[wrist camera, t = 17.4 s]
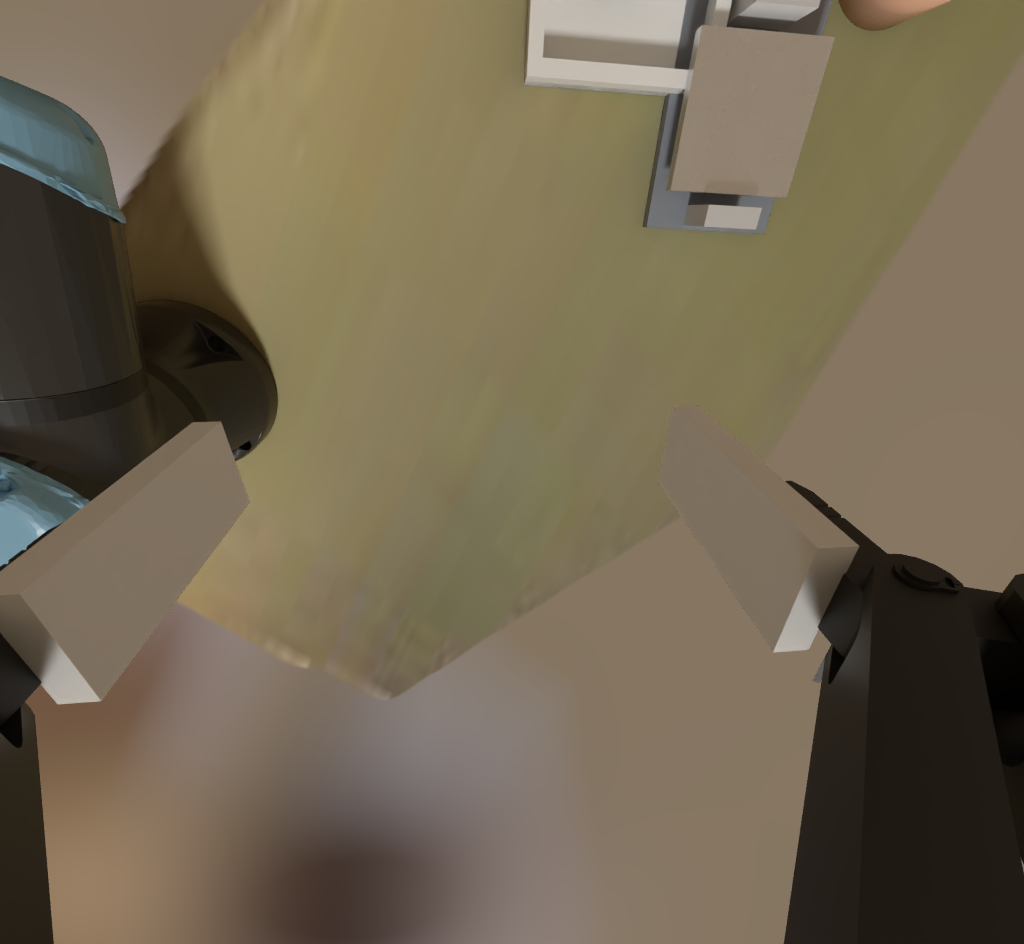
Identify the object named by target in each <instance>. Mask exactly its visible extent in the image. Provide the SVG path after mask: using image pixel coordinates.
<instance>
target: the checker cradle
mask: <svg viewBox="0 0 1024 944" xmlns="http://www.w3.org/2000/svg"><path fill="white" fill-rule="evenodd" d="M690 1H691V0H688V2H686V3H688V4H689V5H690V6H691V5H692V6H691V7H690V6H689V5H688V4H686V6H687V7H688V8H689V9H692V11H694V10H696V11H694V12H692V11H691V10H689V9H688V8H687V7H685V8H686V9H685V12H684V17H683V23H685V24H683V23H682V24H683V25H684V26H685V25H686V24H687V26H685V27H686V28H685V27H684V26H683V25H682V29H681V34H680V37H682V38H681V39H680V40H679V43H680V41H681V40H682V39H683V40H684V41H686V42H685V43H684V41H681V44H679V46H681V48H680V47H679V46H678V49H679V50H678V52H677V57H676V59H678V58H679V60H676V62H677V63H680V64H678V65H679V66H678V65H677V63H676V64H675V68H674V69H676V65H677V68H678V67H680V68H681V69H682V68H684V69H685V70H686V69H687V68H688V66H689V63H690V60H689V59H690V58H691V54H692V53H691V51H692V48H693V44H692V43H694V40H692V39H693V38H695V35H694V34H695V33H694V34H693V32H692V33H691V32H690V31H695V32H696V30H697V29H698V28H699V27H700V26H701V25H704V23H702V21H703V22H704V21H705V20H704V19H701V18H702V16H703V17H704V18H705V16H704V15H705V13H706V11H707V10H706V11H705V9H706V7H707V5H708V0H706V1H705V0H701V1H700V0H699V1H698V0H697V1H696V0H695V1H694V0H692V1H693V2H692V1H691V3H689V2H690ZM702 1H703V2H702ZM696 2H698V3H696ZM701 2H702V3H701ZM705 2H706V4H705ZM693 3H695V4H696V5H695V4H693ZM699 3H701V4H699ZM831 3H832V0H732V3H731V8H730V12H729V17H728V22H727V27H732V28H743V29H754V30H764V31H775V32H786V33H797V34H808V35H818V36H822V34H823V31H824V27H825V24H826V20H827V17H828V14H829V10H830V7H831ZM697 4H698V5H699V6H698V5H697ZM702 5H703V7H701V6H702ZM704 5H705V6H706V7H705V6H704ZM695 6H696V7H695ZM692 7H693V8H692ZM694 7H695V8H698V7H699V8H702V9H700V10H699V8H698V9H695V8H694ZM701 10H704V11H705V12H703V11H701ZM686 11H687V12H688V14H686V13H687V12H686ZM691 12H692V13H693V14H692V13H691ZM697 12H699V13H697ZM695 13H696V14H695ZM701 13H703V14H704V15H703V14H701ZM685 15H686V16H685ZM689 15H690V16H689ZM693 15H695V16H696V17H695V16H694V17H693ZM687 16H689V17H687ZM685 17H686V18H687V19H686V18H685ZM698 17H699V18H698ZM689 18H691V20H693V21H694V22H693V21H691V20H690V19H689ZM695 18H696V19H697V18H698V19H697V20H698V21H697V20H696V19H695ZM694 19H695V20H694ZM684 20H685V21H684ZM686 20H689V21H690V22H689V23H688V22H686ZM699 20H700V22H699ZM695 21H696V23H697V24H698V25H699V26H698V25H697V24H696V25H695V24H694V23H695ZM690 23H691V24H690ZM692 23H693V24H692ZM700 24H701V25H700ZM694 26H695V27H696V26H697V27H696V28H697V29H696V28H695V27H694ZM688 27H690V30H689V29H687V28H688ZM691 27H694V28H691ZM684 29H685V30H684ZM687 30H689V31H688V32H687ZM684 33H685V34H686V33H688V34H689V35H688V34H686V35H685V34H684ZM683 34H684V36H682V35H683ZM692 34H693V35H692ZM690 35H692V38H691V37H690ZM685 36H686V37H687V38H689V39H687V38H685ZM687 40H688V41H687ZM691 41H692V42H691ZM688 42H689V43H688ZM686 43H687V44H686ZM682 44H684V45H685V46H684V45H682ZM689 45H690V46H689ZM686 46H687V47H686ZM689 47H690V48H689ZM691 47H692V48H691ZM684 49H686V50H687V52H686V50H684ZM683 50H684V51H683ZM688 50H689V51H690V52H689V51H688ZM680 51H681V52H680ZM682 51H683V52H684V53H686V54H685V55H684V53H682ZM679 53H681V54H680V55H678V54H679ZM688 53H690V54H688ZM681 55H682V57H681ZM683 55H684V56H685V57H686V56H687V55H688V56H687V58H685V57H684V56H683ZM689 55H690V56H689ZM679 56H680V57H679ZM688 57H690V58H689V59H688ZM682 58H684V61H683V59H682ZM685 59H686V61H687V63H686V61H685ZM681 60H682V61H683V63H684V64H681V63H682V62H681ZM688 61H689V63H688ZM685 64H686V65H685ZM683 65H685V66H686V68H685V66H683ZM680 68H678V69H680ZM687 70H689V68H688V69H687ZM683 96H684V94H676V93H669V94H668V95H666V96H665V101H664V107H663V113H662V119H661V124H660V130H659V136H658V142H657V148H656V153H655V159H654V165H653V171H652V177H651V182H650V188H649V194H648V200H647V206H646V212H645V217H644V223H643V227H653V228H670V229H687V230H705V231H722V232H739V233H756V234H764V233H765V230H766V226H767V223H768V219H769V216H770V213H771V209H772V206H773V202H774V199H775V198H772V197H756V196H741V195H725V194H710V193H694V192H678V191H666V187H667V182H668V176H669V171H670V166H671V160H672V155H673V150H674V144H675V139H676V134H677V128H678V123H679V118H680V112H681V107H682V102H683Z"/></svg>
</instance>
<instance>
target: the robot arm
mask: <svg viewBox="0 0 1024 944" xmlns="http://www.w3.org/2000/svg"><path fill="white" fill-rule="evenodd" d="M123 224H126V218H125V216H124V214H123V213H122V211H120V210H119V206H118V202H117V199H116V194H115V190H114V185H113V181H112V177H111V172H110V168H109V164H108V159H107V154H106V151H105V148H104V146H103V144H102V141H101V140H100V138H99V137H98V135H97V133H96V132H95V131H94V129H93V128H92V127H91V126H90V125H89V124H88V122H87V121H85V120H84V119H83V118H82V117H81V116H80V115H79V114H77V113H76V112H75V111H73V110H72V109H71V108H69V107H68V106H66V105H65V104H63V103H61V102H59V101H57V100H55V99H53V98H51V97H49V96H47V95H45V94H42V93H40V92H38V91H35V90H33V89H31V88H28V87H26V86H24V85H21V84H19V83H16V82H14V81H12V80H9V79H7V78H4V77H2V76H0V944H54V942H53V930H52V918H51V906H50V894H49V883H48V870H47V858H46V846H45V835H44V834H45V833H44V822H43V809H42V798H41V785H40V774H39V761H38V749H37V737H36V725H35V715H34V713H33V711H32V710H31V708H30V707H29V706H28V705H27V704H26V703H25V701H26V700H27V698H28V697H29V696H30V695H31V694H32V693H33V692H34V691H35V690H36V688H37V687H38V686H39V685H40V684H41V685H42V686H43V687H44V689H45V690H46V691H47V692H48V693H49V694H50V696H51V697H52V698H53V699H54V700H55V701H56V703H57V704H66V703H67V704H68V703H81V702H95V701H102V699H103V698H104V697H105V695H106V694H107V693H108V691H109V690H110V689H111V687H112V686H113V685H114V683H115V682H116V681H117V679H118V678H119V677H120V675H121V674H122V673H123V671H124V670H125V669H126V667H127V666H128V665H129V663H130V662H131V661H132V659H133V658H134V656H135V655H136V654H137V653H138V651H139V650H140V649H141V647H142V646H143V644H144V643H145V642H146V641H147V639H148V638H149V637H150V635H151V634H152V632H153V631H154V630H155V629H156V627H157V626H158V624H159V623H160V622H161V620H162V619H163V618H164V616H165V615H166V614H167V612H168V611H169V610H170V608H171V607H172V606H173V604H174V603H175V602H176V600H177V599H178V598H179V596H180V595H181V594H182V592H183V591H184V590H185V588H186V587H187V586H188V584H189V583H190V582H191V580H192V579H193V578H194V576H195V575H196V574H197V572H198V571H199V570H200V568H201V567H202V566H203V564H204V563H205V562H206V560H207V559H208V558H209V556H210V555H211V554H212V552H213V551H214V550H215V548H216V547H217V546H218V544H219V543H220V542H221V540H222V539H223V538H224V536H225V535H226V534H227V532H228V531H229V530H230V528H231V527H232V526H233V524H234V523H235V522H236V520H237V519H238V518H239V516H240V515H241V514H242V512H243V511H244V509H245V508H246V507H247V505H248V504H249V503H250V501H249V498H248V495H247V493H246V490H245V487H244V484H243V481H242V479H241V476H240V473H239V470H238V468H237V465H236V462H235V461H237V460H239V459H241V458H243V457H244V456H246V455H247V454H249V453H250V452H251V451H253V450H254V449H255V448H256V447H257V446H258V445H259V444H260V443H261V442H262V441H263V439H264V438H265V437H266V436H267V435H268V433H269V432H270V430H271V428H272V426H273V424H274V421H275V418H276V414H277V392H276V387H275V383H274V380H273V377H272V374H271V372H270V370H269V368H268V366H267V364H266V362H265V361H264V359H263V357H262V356H261V354H260V353H259V352H258V350H257V349H256V348H255V347H254V345H253V344H252V343H251V342H250V341H249V340H248V339H247V338H246V337H245V336H244V335H243V334H242V333H241V332H240V331H239V330H237V329H236V328H235V327H234V326H232V325H231V324H229V323H228V322H227V321H225V320H224V319H222V318H220V317H219V316H217V315H215V314H213V313H211V312H209V311H207V310H205V309H202V308H200V307H197V306H194V305H191V304H187V303H183V302H178V301H171V300H151V301H145V302H141V303H137V304H136V301H135V295H134V289H133V283H132V277H131V270H130V264H129V258H128V252H127V246H126V239H125V233H124V227H123ZM658 484H659V485H660V487H661V488H662V490H663V491H664V493H665V494H666V496H667V497H668V498H669V500H670V501H671V503H672V504H673V506H674V507H675V509H676V510H677V512H678V513H679V515H680V516H681V518H682V519H683V520H684V522H685V523H686V525H687V526H688V528H689V529H690V531H691V532H692V534H693V535H694V537H695V538H696V540H697V541H698V542H699V544H700V546H701V547H702V548H703V550H704V551H705V553H706V554H707V556H708V557H709V559H710V560H711V562H712V563H713V565H714V566H715V568H716V569H717V571H718V572H719V573H720V575H721V576H722V578H723V579H724V580H725V582H726V584H727V585H728V587H729V588H730V589H731V591H732V593H733V594H734V595H735V597H736V599H737V600H738V601H739V603H740V604H741V606H742V607H743V609H744V610H745V612H746V613H747V615H748V616H749V618H750V619H751V621H752V622H753V624H754V625H755V626H756V628H757V629H758V631H759V632H760V634H761V635H762V637H763V638H764V640H765V641H766V643H767V644H768V645H769V647H770V649H771V650H772V651H773V652H784V651H797V650H808V649H809V648H810V646H811V643H812V641H813V639H814V637H815V635H816V633H817V631H818V629H819V630H820V631H821V632H822V633H823V634H824V636H825V637H826V638H827V639H828V640H829V641H830V643H831V646H830V649H829V650H828V652H827V654H826V656H825V658H824V660H823V662H822V664H821V666H820V667H819V669H818V671H817V673H816V675H815V677H814V679H813V681H815V682H817V683H819V682H820V681H821V679H822V682H821V690H820V697H819V703H818V711H817V717H816V724H815V731H814V738H813V745H812V752H811V759H810V766H809V773H808V780H807V787H806V793H805V800H804V808H803V815H802V821H801V828H800V836H799V842H798V849H797V856H796V863H795V870H794V877H793V884H792V892H791V898H790V905H789V912H788V919H787V926H786V933H785V940H784V944H1024V872H1023V867H1022V863H1021V859H1022V861H1023V863H1024V574H1019V575H1015V577H1014V578H1013V579H1012V581H1011V582H1010V583H1009V585H1008V586H1007V587H1006V589H1005V590H1004V591H1003V593H999V592H993V591H987V590H980V589H974V588H968V587H964V586H963V584H962V583H961V582H960V581H958V580H957V579H956V578H955V577H954V576H953V575H951V574H950V573H948V572H947V571H945V570H943V569H942V568H940V567H938V566H936V565H934V564H932V563H929V562H927V561H924V560H922V559H919V558H916V557H911V556H907V555H902V554H887V553H886V552H884V551H883V550H882V549H881V548H880V547H878V546H877V545H876V544H875V543H874V542H872V541H871V540H870V539H869V538H868V537H866V536H865V535H864V534H863V533H862V532H860V531H859V530H858V529H857V528H855V527H854V526H853V525H852V524H851V523H850V522H848V521H847V520H846V519H844V518H841V515H840V514H839V513H838V512H836V511H835V510H834V509H833V508H832V507H828V504H827V503H826V502H824V501H823V500H822V499H821V498H820V497H818V496H817V495H816V494H815V493H814V492H812V491H810V490H808V489H806V488H804V487H802V486H800V485H798V484H796V483H794V482H793V481H784V480H783V479H782V478H781V477H780V476H778V475H777V474H776V473H775V472H774V471H773V470H772V469H770V468H769V467H768V466H767V465H766V464H765V463H764V462H762V461H761V460H760V459H759V458H758V457H757V456H755V455H754V454H753V453H752V452H751V451H750V450H749V449H747V448H746V447H745V446H744V445H743V444H742V443H741V442H739V441H738V440H737V439H736V438H735V437H734V436H733V435H731V434H730V433H729V432H728V431H727V430H726V429H724V428H723V427H722V426H721V425H720V424H719V423H718V422H716V421H715V420H714V419H713V418H712V417H711V416H710V415H708V414H707V413H706V412H705V411H704V410H703V409H702V408H700V407H699V406H698V405H681V406H673V408H672V413H671V418H670V424H669V429H668V434H667V440H666V445H665V450H664V456H663V461H662V466H661V472H660V477H659V482H658Z"/></svg>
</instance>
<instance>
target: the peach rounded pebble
mask: <svg viewBox="0 0 1024 944" xmlns="http://www.w3.org/2000/svg"><path fill="white" fill-rule="evenodd" d="M949 1H951V0H839V3H840V6H841V8H842V10H843V12H844V14H845V15H846V17H847V18H848V19H849V20H850V21H851V22H852V23H853V24H855V25H856V26H857V27H860V28H862V29H865V30H870V31H878V30H883V29H887V28H890V27H893V26H895V25H897V24H900V23H902V22H904V21H906V20H909V19H911V18H913V17H915V16H917V15H920V14H922V13H924V12H926V11H929V10H931V9H933V8H935V7H937V6H940V5H942V4H944V3H946V2H949Z"/></svg>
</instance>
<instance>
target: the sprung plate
mask: <svg viewBox="0 0 1024 944" xmlns="http://www.w3.org/2000/svg"><path fill="white" fill-rule="evenodd" d="M834 39H835V37H829V36H818V35H808V34H797V33H786V32H775V31H764V30H754V29H743V28H732V27H721V26H710V25H701V26H700V27H699V28H698V29H697V30H696V32H695V38H694V43H693V48H692V54H691V59H690V64H689V70H688V75H687V80H686V86H685V91H684V96H683V102H682V107H681V112H680V118H679V123H678V128H677V134H676V139H675V144H674V150H673V155H672V160H671V166H670V171H669V176H668V182H667V187H666V191H678V192H694V193H710V194H725V195H741V196H756V197H772V198H787V195H788V191H789V188H790V185H791V182H792V178H793V175H794V172H795V168H796V165H797V162H798V158H799V155H800V152H801V148H802V145H803V142H804V139H805V135H806V132H807V129H808V125H809V122H810V119H811V115H812V112H813V109H814V106H815V102H816V99H817V96H818V92H819V89H820V86H821V82H822V79H823V76H824V72H825V69H826V66H827V63H828V59H829V56H830V53H831V49H832V46H833V43H834Z"/></svg>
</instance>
